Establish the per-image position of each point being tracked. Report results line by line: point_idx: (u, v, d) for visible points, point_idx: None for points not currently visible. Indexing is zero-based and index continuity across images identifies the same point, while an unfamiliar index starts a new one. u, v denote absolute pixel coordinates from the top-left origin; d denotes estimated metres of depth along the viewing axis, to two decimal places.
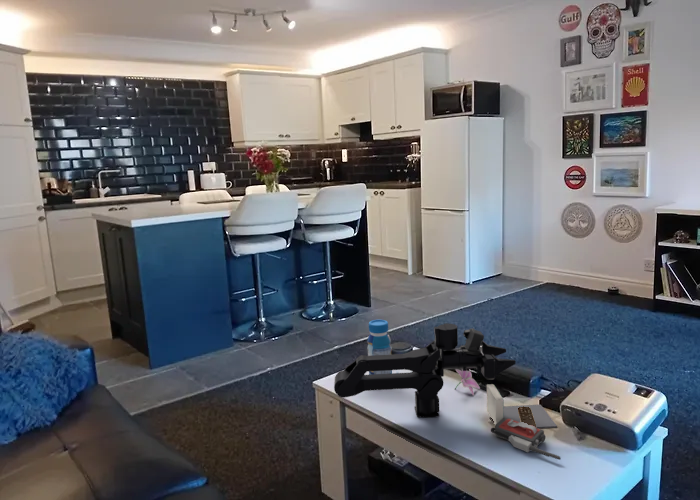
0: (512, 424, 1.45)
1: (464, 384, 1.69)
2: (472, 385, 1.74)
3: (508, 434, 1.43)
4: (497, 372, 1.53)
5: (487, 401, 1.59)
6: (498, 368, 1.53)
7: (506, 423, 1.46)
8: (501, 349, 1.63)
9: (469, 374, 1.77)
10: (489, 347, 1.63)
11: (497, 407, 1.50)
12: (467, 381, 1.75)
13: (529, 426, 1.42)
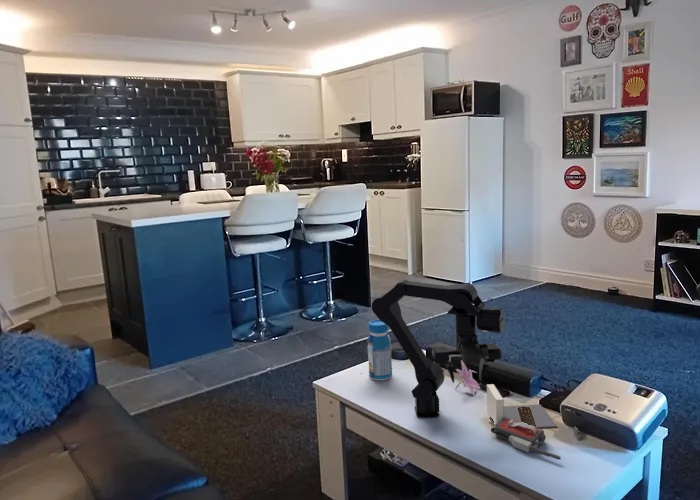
0: (512, 424, 1.45)
1: (465, 384, 1.69)
2: (472, 385, 1.74)
3: (508, 434, 1.43)
4: None
5: (487, 401, 1.59)
6: None
7: (506, 423, 1.46)
8: (480, 376, 1.53)
9: (469, 374, 1.77)
10: (482, 365, 1.52)
11: (497, 407, 1.50)
12: (467, 381, 1.75)
13: (529, 426, 1.42)
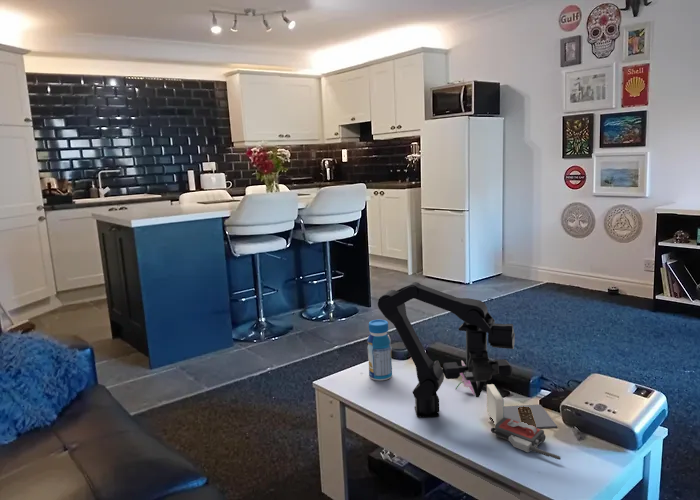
0: (512, 424, 1.45)
1: (465, 384, 1.69)
2: None
3: (508, 434, 1.43)
4: None
5: (487, 401, 1.59)
6: None
7: (506, 423, 1.46)
8: None
9: None
10: (479, 382, 1.53)
11: (497, 407, 1.50)
12: (468, 381, 1.75)
13: (529, 426, 1.42)
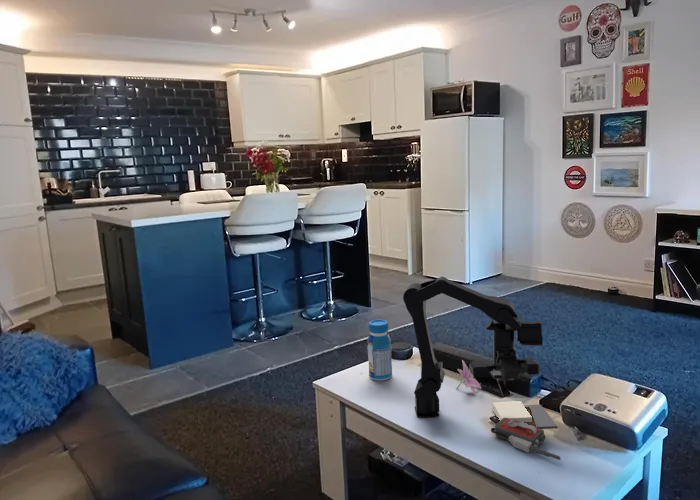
0: (512, 424, 1.45)
1: (466, 384, 1.69)
2: (474, 385, 1.74)
3: (508, 434, 1.43)
4: None
5: (504, 403, 1.60)
6: None
7: (506, 423, 1.46)
8: None
9: (470, 374, 1.77)
10: (506, 381, 1.53)
11: (523, 418, 1.51)
12: (469, 381, 1.75)
13: (529, 426, 1.42)
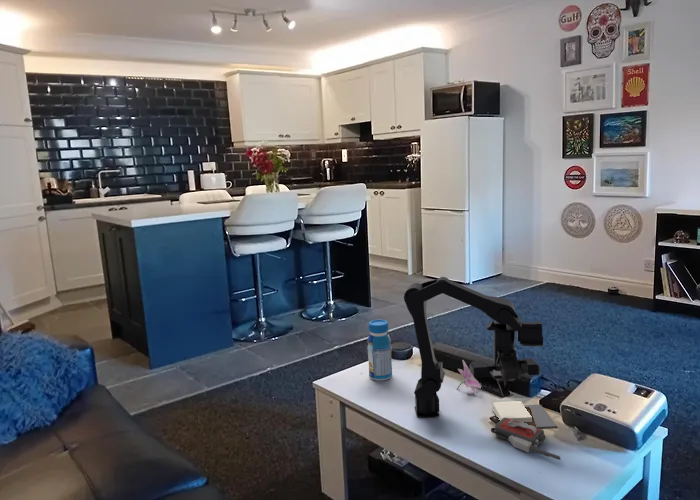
0: (512, 424, 1.45)
1: (467, 384, 1.69)
2: (474, 385, 1.74)
3: (508, 434, 1.43)
4: None
5: (504, 403, 1.60)
6: None
7: (506, 423, 1.46)
8: (504, 392, 1.54)
9: (471, 374, 1.77)
10: (507, 381, 1.53)
11: (523, 418, 1.51)
12: (469, 381, 1.75)
13: (529, 426, 1.42)
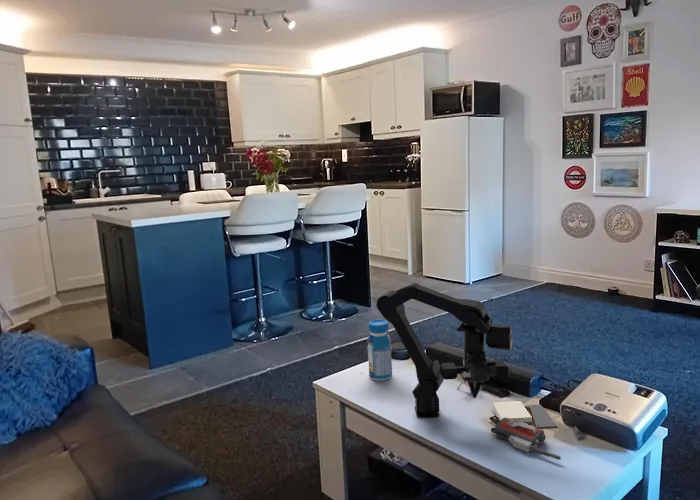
0: (512, 424, 1.45)
1: (467, 384, 1.69)
2: None
3: (508, 434, 1.43)
4: None
5: (504, 403, 1.60)
6: None
7: (506, 423, 1.46)
8: None
9: None
10: (476, 383, 1.53)
11: (523, 418, 1.51)
12: None
13: (529, 426, 1.42)
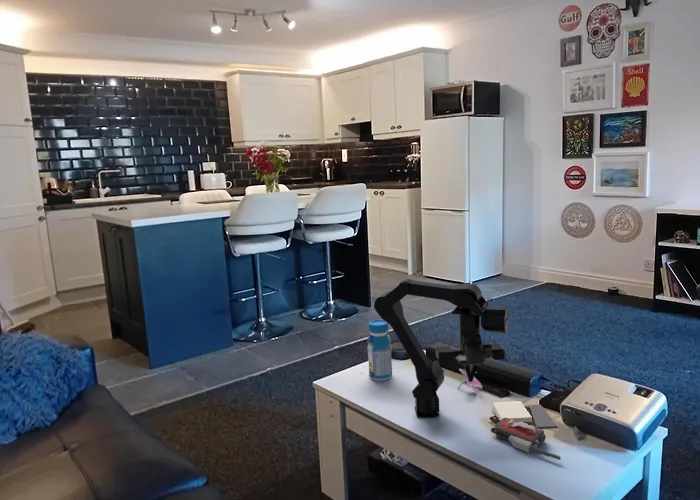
0: (512, 424, 1.45)
1: (468, 384, 1.69)
2: (475, 385, 1.74)
3: (508, 434, 1.43)
4: None
5: (504, 403, 1.60)
6: None
7: (506, 423, 1.46)
8: None
9: None
10: (472, 366, 1.52)
11: (523, 418, 1.51)
12: None
13: (529, 426, 1.42)
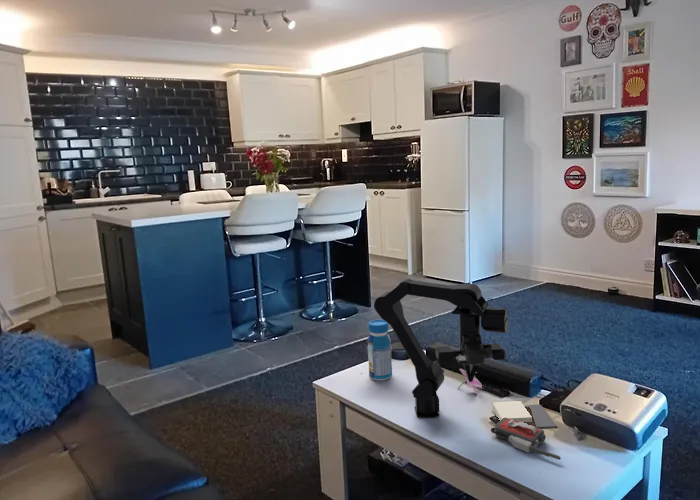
0: (512, 424, 1.45)
1: (468, 384, 1.69)
2: (476, 385, 1.74)
3: (508, 434, 1.43)
4: None
5: (504, 403, 1.60)
6: None
7: (506, 423, 1.46)
8: None
9: None
10: (472, 366, 1.52)
11: (523, 418, 1.51)
12: None
13: (529, 426, 1.42)
